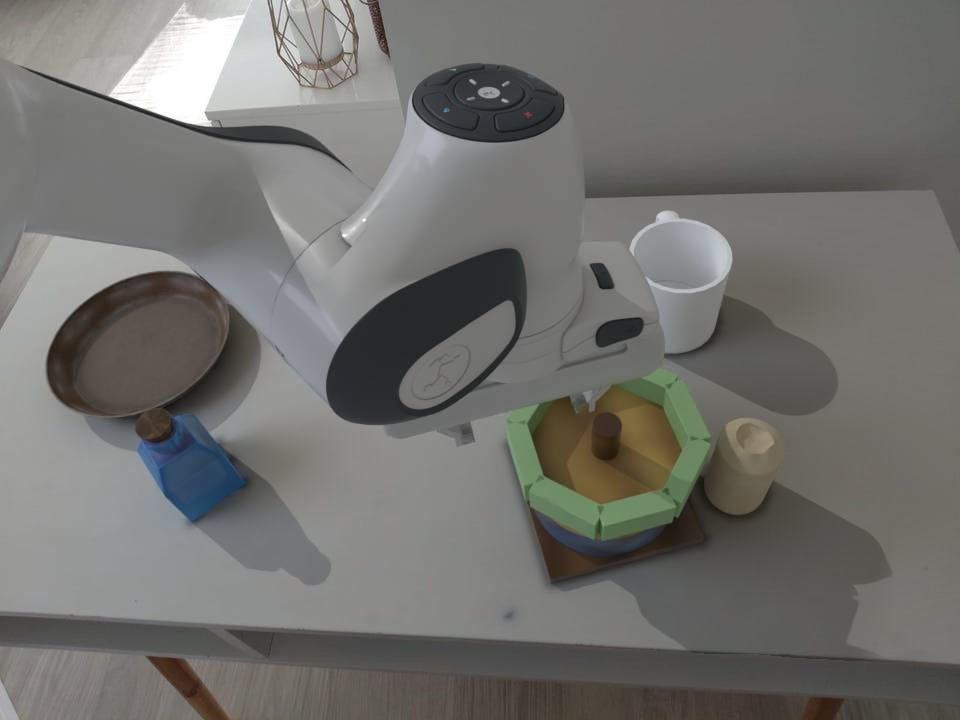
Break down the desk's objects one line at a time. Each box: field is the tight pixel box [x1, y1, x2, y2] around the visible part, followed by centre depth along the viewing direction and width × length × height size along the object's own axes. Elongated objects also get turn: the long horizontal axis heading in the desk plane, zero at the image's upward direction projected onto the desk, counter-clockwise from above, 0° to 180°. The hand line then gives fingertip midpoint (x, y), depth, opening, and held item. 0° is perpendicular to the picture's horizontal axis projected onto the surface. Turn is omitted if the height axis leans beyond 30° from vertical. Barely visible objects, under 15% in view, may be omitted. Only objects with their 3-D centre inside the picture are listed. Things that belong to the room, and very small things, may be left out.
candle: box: [703, 417, 786, 516], centre depth 67 cm, size 6×6×10 cm
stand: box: [525, 385, 705, 584], centre depth 67 cm, size 14×14×13 cm
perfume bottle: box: [134, 407, 247, 523], centre depth 72 cm, size 6×6×12 cm
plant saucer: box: [44, 270, 230, 419], centre depth 86 cm, size 21×21×3 cm
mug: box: [628, 210, 733, 355], centre depth 80 cm, size 13×10×10 cm
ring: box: [505, 366, 712, 541], centre depth 64 cm, size 16×16×3 cm
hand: (523, 421), depth 58 cm, fingers open, 8 cm apart
